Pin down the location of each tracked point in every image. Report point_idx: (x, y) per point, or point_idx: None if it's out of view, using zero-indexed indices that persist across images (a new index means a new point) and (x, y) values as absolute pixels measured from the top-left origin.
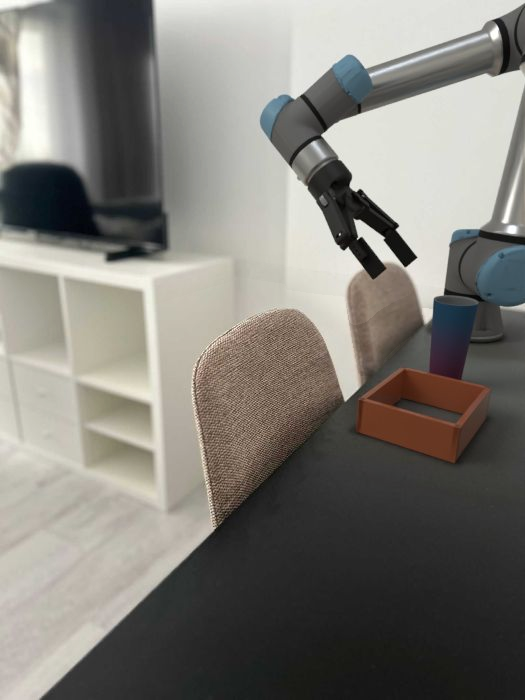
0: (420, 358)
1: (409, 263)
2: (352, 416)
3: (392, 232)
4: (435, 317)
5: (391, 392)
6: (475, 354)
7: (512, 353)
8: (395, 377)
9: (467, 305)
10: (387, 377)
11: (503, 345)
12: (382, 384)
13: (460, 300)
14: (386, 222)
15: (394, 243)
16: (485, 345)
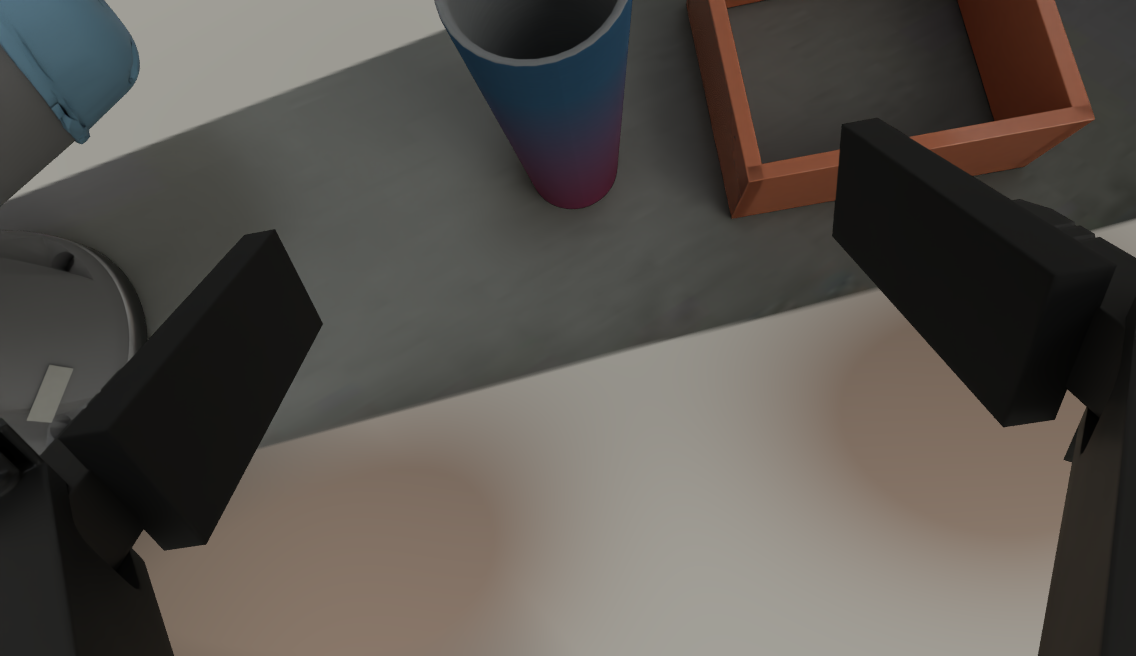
0: (403, 335)
1: (303, 286)
2: None
3: (131, 447)
4: (616, 64)
5: None
6: (244, 232)
7: (160, 159)
8: None
9: None
10: None
11: (97, 211)
12: (939, 135)
13: (450, 6)
14: (35, 552)
15: (217, 412)
16: (133, 250)
